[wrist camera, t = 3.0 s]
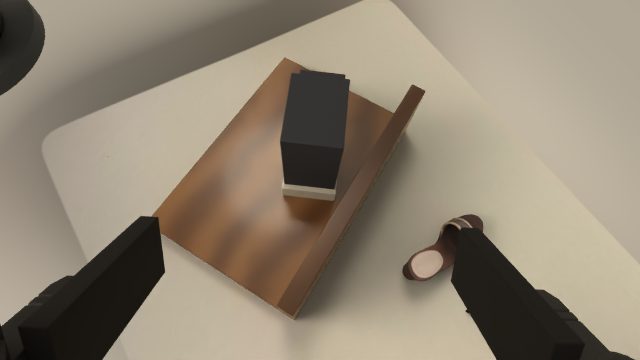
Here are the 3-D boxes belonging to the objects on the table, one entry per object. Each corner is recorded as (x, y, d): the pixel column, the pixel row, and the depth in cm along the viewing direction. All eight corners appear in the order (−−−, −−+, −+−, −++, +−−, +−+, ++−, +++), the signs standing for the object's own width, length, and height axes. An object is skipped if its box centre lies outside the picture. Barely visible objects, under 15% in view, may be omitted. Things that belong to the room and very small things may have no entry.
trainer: (334, 201, 39) (345, 154, 28) (282, 195, 39) (276, 146, 28) (343, 101, 44) (356, 32, 34) (297, 96, 44) (297, 25, 34)
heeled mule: (490, 243, 40) (509, 234, 36) (414, 299, 37) (426, 295, 33) (464, 210, 41) (479, 199, 38) (388, 262, 38) (397, 255, 35)
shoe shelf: (153, 228, 38) (118, 203, 31) (285, 67, 48) (282, 19, 41) (294, 320, 36) (292, 317, 28) (405, 130, 45) (425, 90, 38)
